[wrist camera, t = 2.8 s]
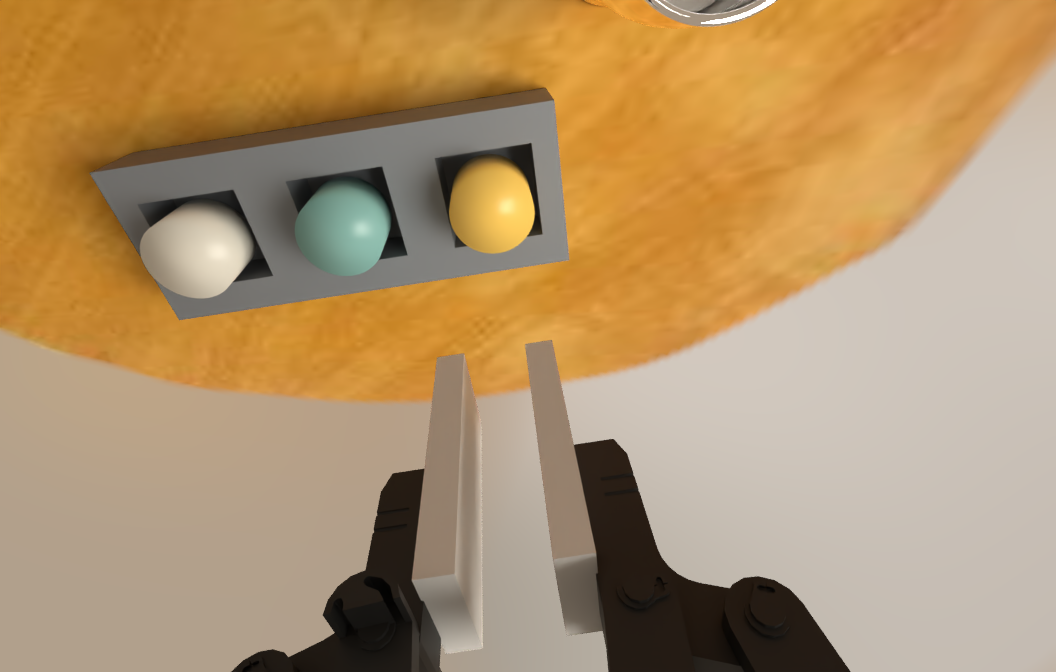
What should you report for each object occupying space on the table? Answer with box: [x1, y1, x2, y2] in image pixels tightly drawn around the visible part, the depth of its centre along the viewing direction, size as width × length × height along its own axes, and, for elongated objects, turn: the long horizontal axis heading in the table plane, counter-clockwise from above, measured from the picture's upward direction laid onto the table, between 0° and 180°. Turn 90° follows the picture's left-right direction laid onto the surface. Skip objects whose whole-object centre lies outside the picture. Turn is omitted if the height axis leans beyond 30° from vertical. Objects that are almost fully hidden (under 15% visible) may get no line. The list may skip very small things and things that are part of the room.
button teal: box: [295, 176, 392, 276], centre depth 28 cm, size 4×4×3 cm
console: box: [90, 88, 569, 320], centre depth 30 cm, size 24×9×4 cm, turn 98°
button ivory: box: [140, 199, 256, 299], centre depth 28 cm, size 4×4×3 cm
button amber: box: [449, 154, 535, 254], centre depth 28 cm, size 4×4×3 cm
